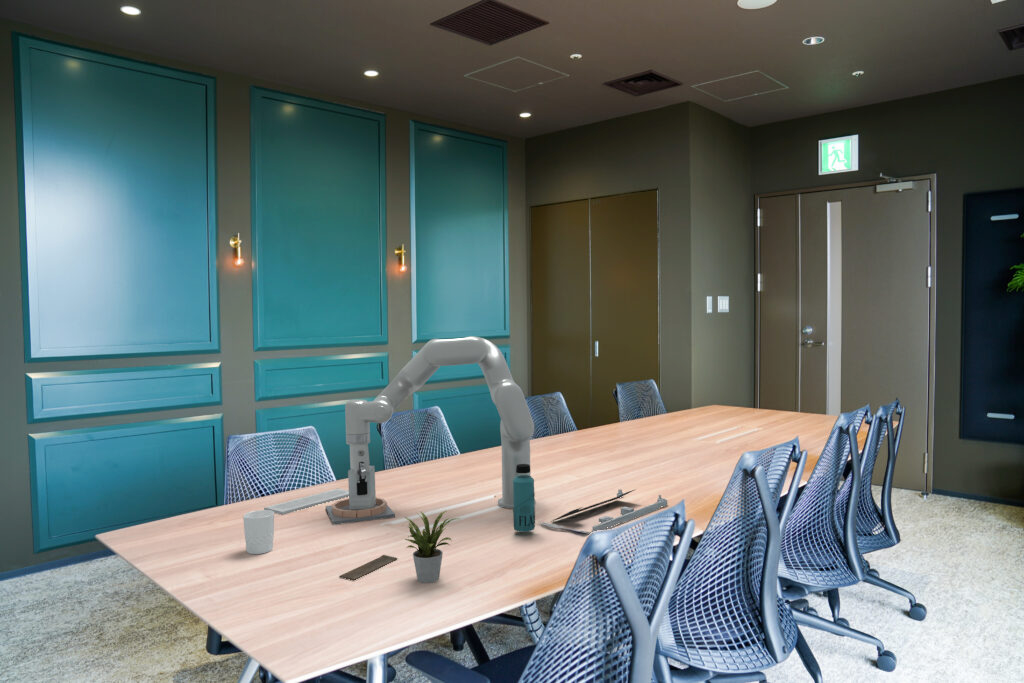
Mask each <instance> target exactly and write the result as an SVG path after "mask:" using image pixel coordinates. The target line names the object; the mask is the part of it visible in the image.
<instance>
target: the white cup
mask: <svg viewBox="0 0 1024 683" xmlns="http://www.w3.org/2000/svg"><path fill="white" fill-rule="evenodd" d="M242 517H243V529H244V531H243V532H244V540H245V549H246V550H245V551H246V553H247V554H249V555H262V554H265V553H266V552H267V553H269V552H271V551H273V549H274V537H275V536H274V534H275V513H274V512H273V511H270V510H264V509H263V510H262V509H261V510H260V509H259V510H254V511H253V510H252V511H250V512H247V513H245V514H244V513H243V516H242Z"/></svg>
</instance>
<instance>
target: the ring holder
mask: <svg viewBox="0 0 1024 683" xmlns="http://www.w3.org/2000/svg"><path fill="white" fill-rule="evenodd" d="M325 510H327V511H326V513H327V512H328V513H327V514H329V515H328V517H329V516H330V517H329V519H330V518H331V519H330V521H331V520H332V521H331V523H332V525H333V524H335V525H342V524H341V523H343V524H348V523H347V522H351V523H357V522H356V521H359V522H365V521H364V520H367V521H374V520H373V519H375V520H382V519H381V518H383V519H390V517H391V518H396V513H395V512H394V511H393V509H391V507H390V506H389V505H388V502H387V501H386V500H385V499H384V498H380V497H377V496H376V504H375V505H374V507H373V508H371V509H358V510H350V508H349V498H343V499H339V500H336V501H335V502H334V503H332V504H331V505H326V506H325Z"/></svg>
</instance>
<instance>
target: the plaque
mask: <svg viewBox="0 0 1024 683" xmlns="http://www.w3.org/2000/svg"><path fill="white" fill-rule="evenodd" d="M348 496H349V489H344V488H334V489H331V490H327V491H323V492H318V493H315V494H311V495H306V496H304V497H300V498H299V497H298V498H295V499H291V500H288V501H284V502H281V503H276V504H273V505H269V506H264V507H263V508H264V509H263V510H270V511H273V512H274V514H276V515H280V514H281V515H280V516H284V515H287V514H291V512H292V513H295V512H298V511H297V510H299V511H301V509H302V510H306V509H309V507H310V508H312V506H313V507H316V506H315V505H317V506H319V505H318V504H321V505H323V504H322V503H324V504H327V503H326V502H328V503H331V502H330V501H332V502H334V500H335V501H339V500H342V499H346V498H349V497H348ZM345 497H346V498H345ZM341 498H342V499H341ZM338 499H339V500H338ZM305 508H306V509H305ZM294 511H295V512H294Z"/></svg>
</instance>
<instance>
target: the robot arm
mask: <svg viewBox="0 0 1024 683" xmlns="http://www.w3.org/2000/svg"><path fill="white" fill-rule="evenodd" d="M474 364H478V366H479V368H480V369H481V372H482V374H483V377H484V379H485V382H486V385H487V387H488V389H489V392H490V393H489V394H490V398H491V401H492V402H493V404H494V405H495V406H496V409H497V412H498V415H499V417H500V422H499V423H500V424H499V429H500V432H499V433H500V441H501V442H500V445H501V485H502V486H501V490H502V492H501V493H502V494H501V497H500V498H499V499H497V505H498V506H499V507H502V508H505V509H513V479H514V478H515V477H516V476H518V475H529V476H531V471H530V472H529V473H517V472H516V466H517V465H518V464H529V465H530V466H531V441H530V440H531V438H532V437H533V435H534V431H535V423H534V419H533V418H532V415H531V411H530V409H529V406H528V405H529V404H528V403H527V400H526V398H525V395H524V393H523V390H522V388H521V387H520V386H519V385H518V384H517V383H515V381H514V378H513V376H512V373H511V371H510V368H509V366H508V363H507V360H506V358H505V357H504V354H503V353H502V351H501V349H499V347H498V346H497V345H495V343H493V342H491V341H490V340H488V339H486V338H483V337H481V336H480V337H479V336H473V335H470V336H465V337H459V338H446V339H445V338H442V339H441V338H432V339H430V340H429V341H428V342H426V343H425V344H424V346H422V347H421V349H419V351H418V352H417V353H416V354H415V355H414V356H413V357H412V358H411V359H410V360H409V361H408V362H407V363H406V364H405V365H404V366H403V367H402V368H401V370H400V371H399V372H398V373H397V374H396V376H395V377H394V378H393V379H392V381H390V383H389V384H388V385H386V387H385V388H384V389H383V390H382V391H381V392H380V393H379V394H378V395H377V396H376V397H375V399H373V400H370V401H368V400H366V399H352V400H348V401H347V402H346V403H345V405H344V410H345V416H344V417H345V418H344V419H345V443H346V445H349V462H350V464H349V465H350V469H351V468H352V470H353V471H354V475H356V476H357V481H358V483H357V495H358V496H359V495H367V478H366V473H368V474H369V472H370V466H371V465H370V451H369V445H368V444H370V443H371V429H370V428H371V426H370V424H371V423H375V424H383V423H388V421H390V420H391V418H392V417H393V413H394V412H395V411H396V410H397V409H398V407H399V406H400V405H401V404H402V403H403V402H404V401H405V400H407V398H408V397H410V396H411V395H412V394H413V393H414V392H417V391H419V390H420V389H421V388H422V387H423V386H424V384H426V382H428V380H429V379H430V378H431V377H432V376H433V375H434V374H435V373H436V372H437V371H438V370H439V368H441V367H447V366H448V367H449V366H462V365H463V366H464V365H474ZM358 471H361V473H358ZM365 471H366V472H365ZM359 476H360V477H359ZM359 478H360V479H359ZM536 504H537V500H536V499H535V502H534V506H536Z"/></svg>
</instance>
